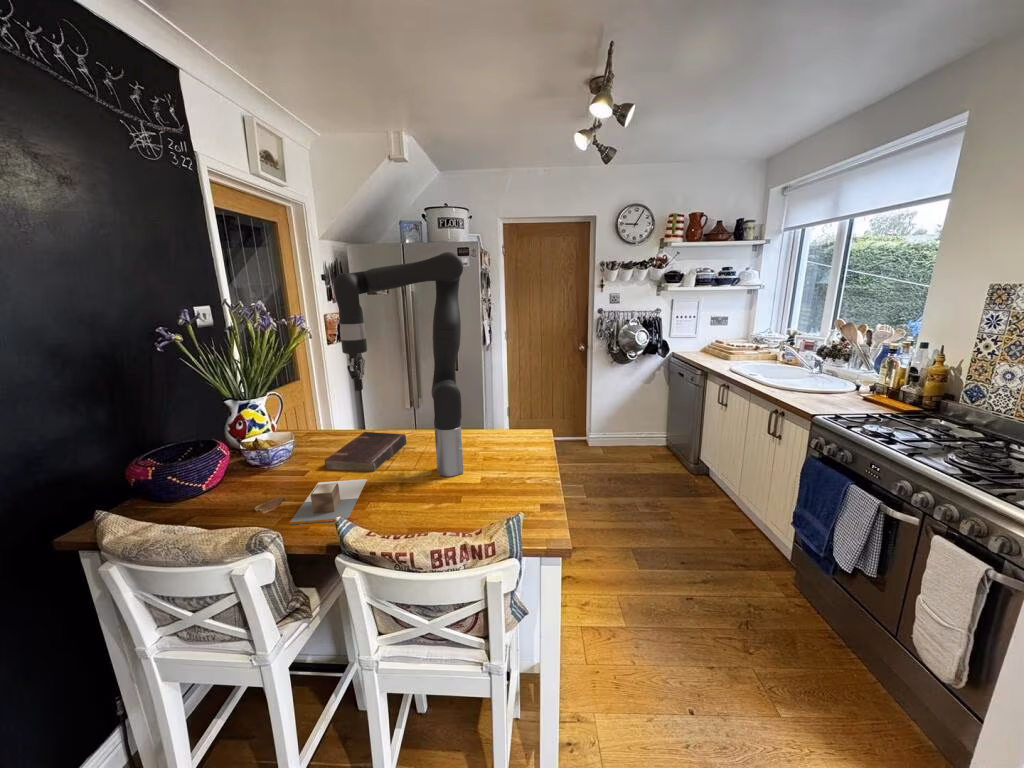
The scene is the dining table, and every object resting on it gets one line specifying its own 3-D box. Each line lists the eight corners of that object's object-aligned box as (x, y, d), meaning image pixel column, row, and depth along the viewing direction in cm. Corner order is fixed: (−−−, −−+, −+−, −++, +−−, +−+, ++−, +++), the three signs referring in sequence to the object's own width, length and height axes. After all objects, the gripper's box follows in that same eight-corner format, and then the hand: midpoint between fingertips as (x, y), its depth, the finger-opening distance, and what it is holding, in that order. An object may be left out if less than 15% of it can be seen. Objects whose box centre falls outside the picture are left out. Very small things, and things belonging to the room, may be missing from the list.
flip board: (367, 481, 140) (367, 479, 139) (349, 520, 117) (348, 517, 116) (318, 485, 138) (318, 482, 138) (290, 525, 115) (289, 522, 114)
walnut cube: (332, 492, 118) (334, 511, 120) (338, 483, 124) (340, 501, 125) (310, 494, 117) (313, 513, 119) (317, 484, 123) (320, 502, 125)
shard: (291, 496, 132) (290, 491, 131) (302, 503, 127) (301, 498, 127) (254, 510, 123) (253, 505, 123) (264, 519, 119) (263, 514, 118)
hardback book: (374, 475, 145) (373, 462, 144) (326, 472, 148) (324, 460, 147) (406, 444, 173) (405, 433, 172) (365, 442, 176) (364, 431, 175)
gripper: (360, 340, 124) (366, 394, 128) (370, 334, 137) (375, 385, 141) (335, 340, 123) (341, 396, 127) (346, 335, 136) (352, 385, 140)
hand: (359, 390), depth 134 cm, fingers closed
